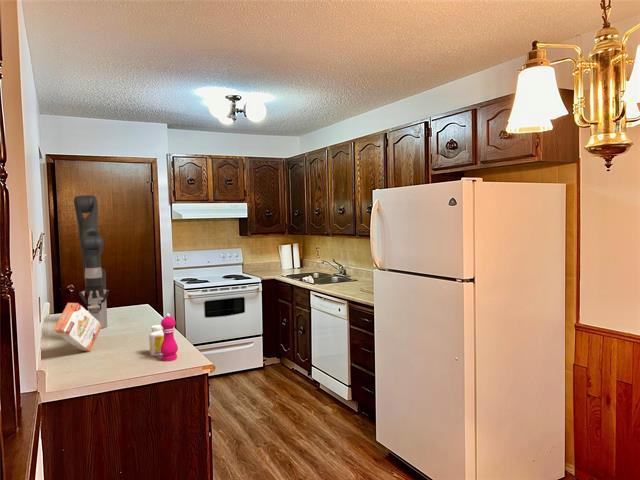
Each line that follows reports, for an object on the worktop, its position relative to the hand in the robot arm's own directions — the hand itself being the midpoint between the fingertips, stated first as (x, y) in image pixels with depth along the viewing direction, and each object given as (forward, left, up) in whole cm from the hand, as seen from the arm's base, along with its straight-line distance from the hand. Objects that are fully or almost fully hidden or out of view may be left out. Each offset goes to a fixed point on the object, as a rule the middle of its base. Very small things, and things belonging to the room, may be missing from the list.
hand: (95, 311), depth 234 cm
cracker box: (+10, -1, -11) cm, 15 cm away
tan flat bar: (+6, 0, +1) cm, 7 cm away
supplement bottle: (+34, +26, -16) cm, 46 cm away
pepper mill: (+44, +30, -16) cm, 56 cm away
